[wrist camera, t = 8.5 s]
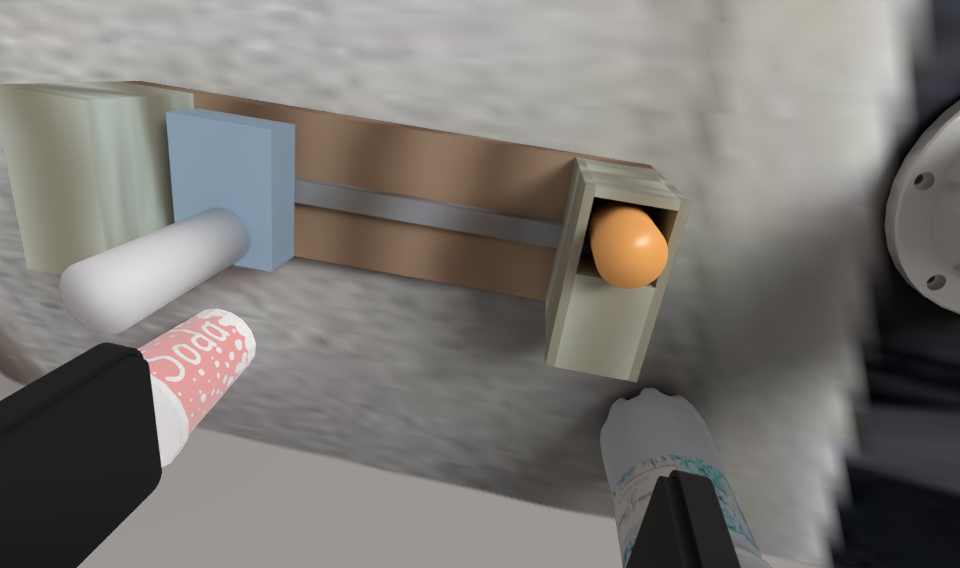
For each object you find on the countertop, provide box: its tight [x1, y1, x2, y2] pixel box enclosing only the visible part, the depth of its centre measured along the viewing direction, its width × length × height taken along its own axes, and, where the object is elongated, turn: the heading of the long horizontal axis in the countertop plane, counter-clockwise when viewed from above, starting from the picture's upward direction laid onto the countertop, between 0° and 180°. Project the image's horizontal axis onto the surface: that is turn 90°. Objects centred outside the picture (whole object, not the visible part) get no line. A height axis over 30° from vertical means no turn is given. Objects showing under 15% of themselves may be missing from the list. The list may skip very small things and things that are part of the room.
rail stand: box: [0, 81, 692, 382], centre depth 26 cm, size 28×8×8 cm, turn 82°
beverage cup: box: [137, 309, 256, 467], centre depth 28 cm, size 6×6×14 cm
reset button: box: [587, 199, 668, 289], centre depth 21 cm, size 3×3×4 cm
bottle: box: [600, 388, 772, 568], centre depth 24 cm, size 7×7×20 cm
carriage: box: [59, 108, 295, 335], centre depth 23 cm, size 5×7×10 cm
